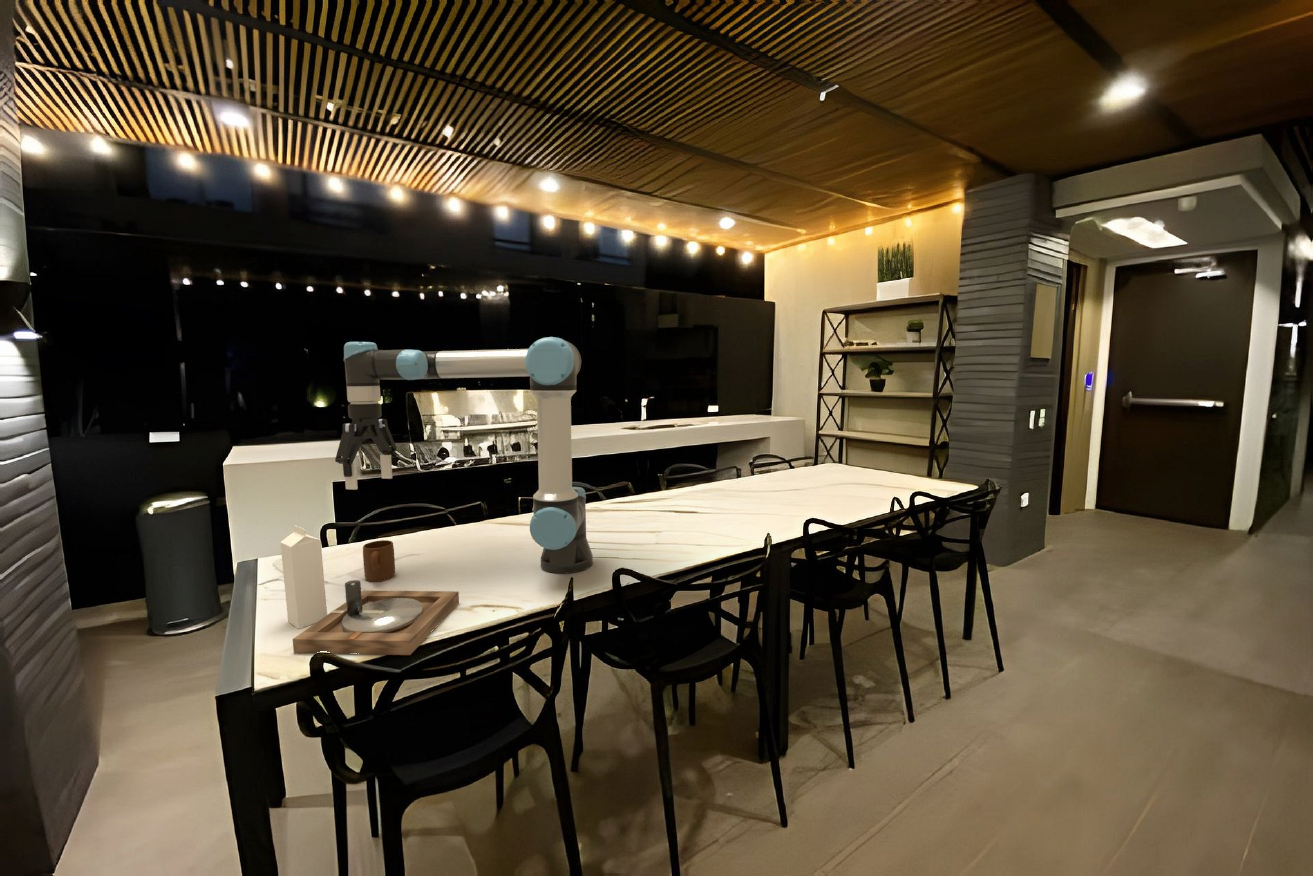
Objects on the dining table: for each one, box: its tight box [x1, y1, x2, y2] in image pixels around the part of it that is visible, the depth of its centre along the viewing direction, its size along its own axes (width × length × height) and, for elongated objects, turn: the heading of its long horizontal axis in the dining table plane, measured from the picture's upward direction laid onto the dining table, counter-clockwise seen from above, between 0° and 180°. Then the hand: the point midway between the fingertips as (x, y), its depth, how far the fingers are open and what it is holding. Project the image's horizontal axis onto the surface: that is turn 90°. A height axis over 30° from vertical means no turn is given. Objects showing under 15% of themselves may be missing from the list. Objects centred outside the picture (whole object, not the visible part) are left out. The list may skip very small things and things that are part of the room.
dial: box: [342, 579, 423, 633], centre depth 118 cm, size 16×16×8 cm
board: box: [292, 589, 460, 656], centre depth 119 cm, size 24×24×3 cm
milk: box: [280, 524, 328, 630], centre depth 120 cm, size 6×6×22 cm
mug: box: [362, 539, 396, 583], centre depth 145 cm, size 12×8×9 cm, turn 20°
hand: (370, 483), depth 140 cm, fingers open, 13 cm apart
